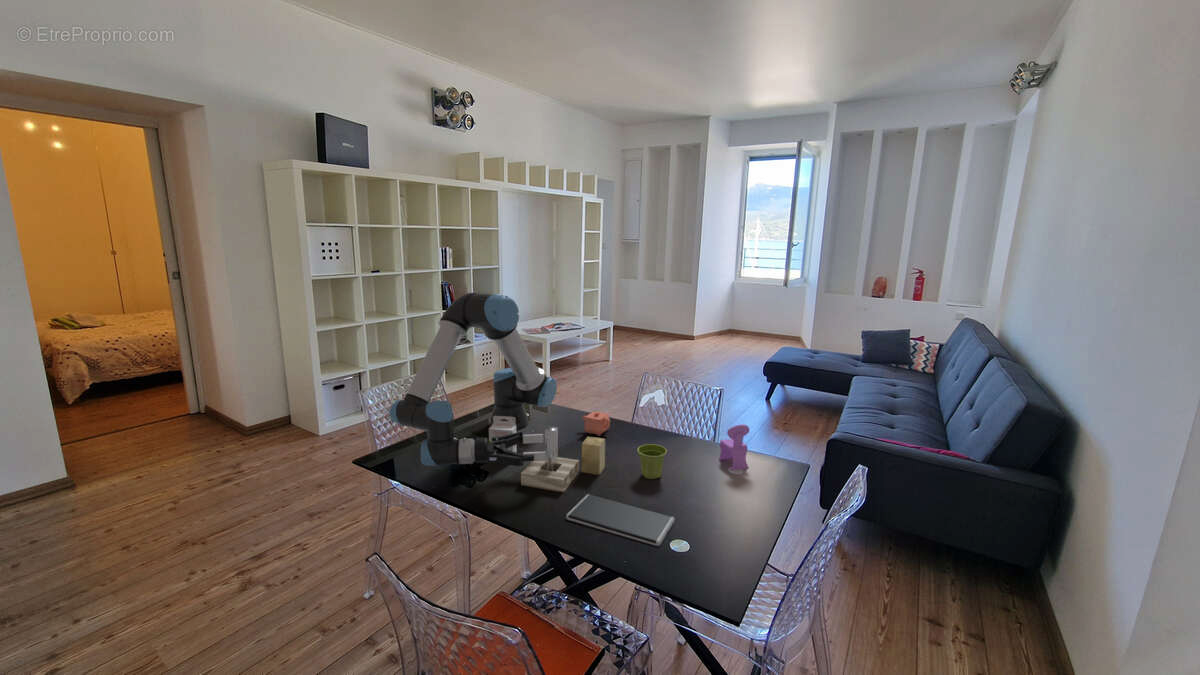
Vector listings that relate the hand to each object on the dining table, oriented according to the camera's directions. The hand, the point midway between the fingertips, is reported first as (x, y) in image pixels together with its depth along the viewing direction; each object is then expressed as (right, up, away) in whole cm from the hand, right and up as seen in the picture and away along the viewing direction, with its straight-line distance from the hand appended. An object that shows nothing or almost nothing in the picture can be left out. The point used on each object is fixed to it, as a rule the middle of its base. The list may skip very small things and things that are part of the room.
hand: (544, 446), depth 154 cm
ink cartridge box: (-16, -8, +16) cm, 24 cm away
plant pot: (+34, -10, +5) cm, 36 cm away
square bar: (+15, -9, +8) cm, 20 cm away
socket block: (+2, -10, +2) cm, 11 cm away
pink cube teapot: (+16, -3, +40) cm, 43 cm away
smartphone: (+23, -16, -20) cm, 35 cm away
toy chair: (+63, -9, +14) cm, 65 cm away
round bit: (+2, -10, +2) cm, 10 cm away
